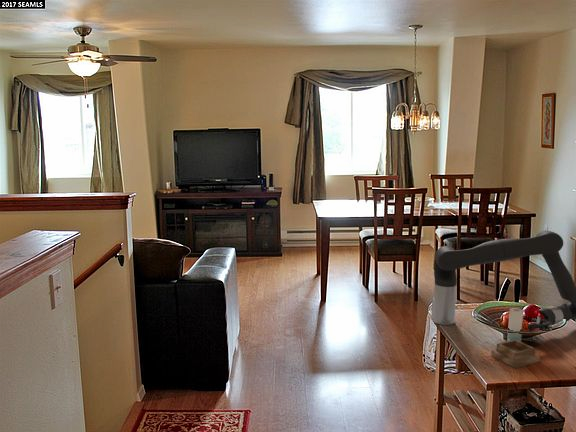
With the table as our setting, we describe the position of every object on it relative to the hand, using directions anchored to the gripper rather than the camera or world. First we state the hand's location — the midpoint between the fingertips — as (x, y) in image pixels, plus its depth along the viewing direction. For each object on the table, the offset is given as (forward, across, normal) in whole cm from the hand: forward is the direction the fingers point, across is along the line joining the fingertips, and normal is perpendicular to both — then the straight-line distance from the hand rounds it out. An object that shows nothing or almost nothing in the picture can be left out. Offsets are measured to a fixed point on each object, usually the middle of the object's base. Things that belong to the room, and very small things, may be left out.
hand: (519, 323), depth 232 cm
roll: (+3, 0, +8) cm, 8 cm away
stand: (+13, +10, +8) cm, 18 cm away
